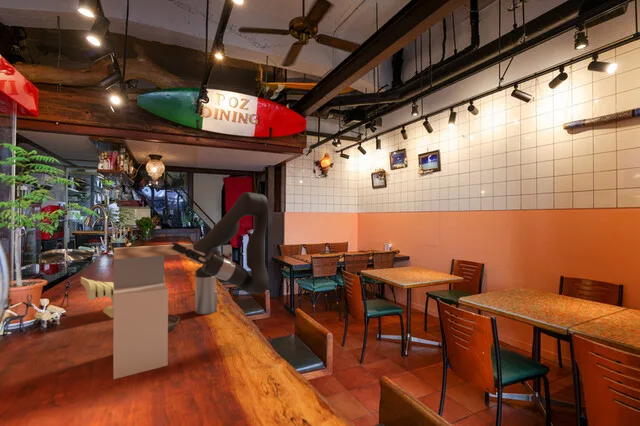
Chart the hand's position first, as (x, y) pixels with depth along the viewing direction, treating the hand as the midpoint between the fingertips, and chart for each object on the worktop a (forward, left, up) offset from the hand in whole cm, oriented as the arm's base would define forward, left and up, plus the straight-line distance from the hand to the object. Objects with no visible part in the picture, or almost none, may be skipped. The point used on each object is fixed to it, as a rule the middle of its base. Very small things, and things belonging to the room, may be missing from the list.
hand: (173, 245), depth 99 cm
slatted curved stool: (+12, -60, -37) cm, 72 cm away
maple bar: (+5, 0, -3) cm, 6 cm away
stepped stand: (+9, -4, -37) cm, 38 cm away
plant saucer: (+2, -30, -38) cm, 48 cm away
